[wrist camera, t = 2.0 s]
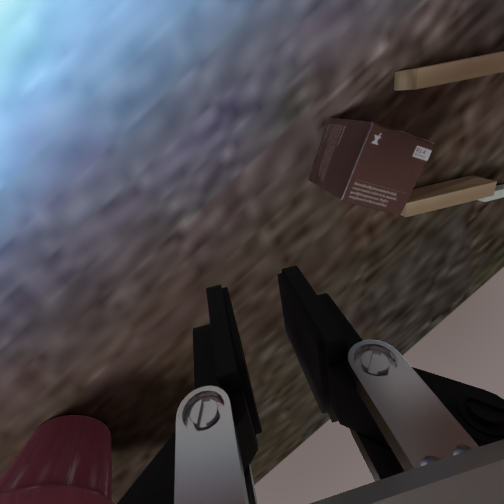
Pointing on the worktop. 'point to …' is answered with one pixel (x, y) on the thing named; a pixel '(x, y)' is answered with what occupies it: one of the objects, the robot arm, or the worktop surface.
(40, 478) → the plant pot
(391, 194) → the box
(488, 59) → the channel
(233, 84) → the worktop surface
